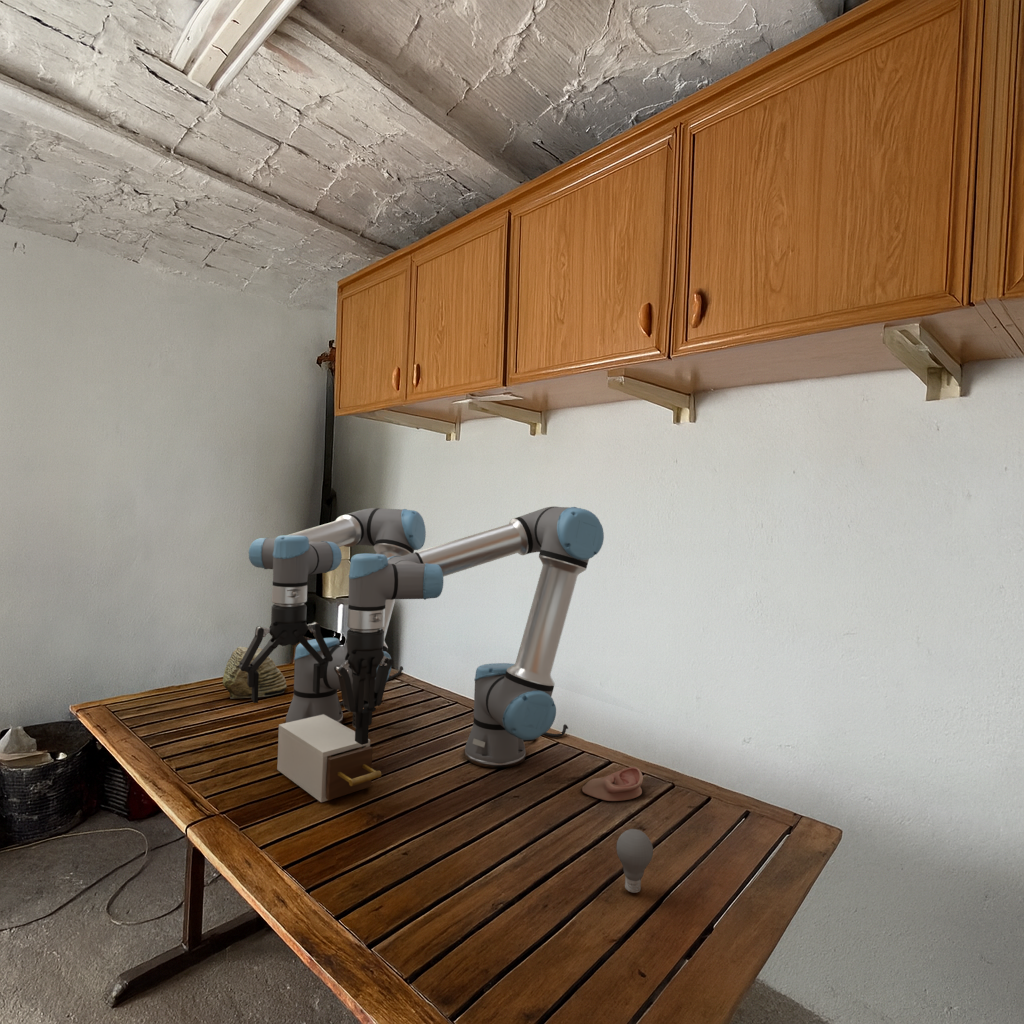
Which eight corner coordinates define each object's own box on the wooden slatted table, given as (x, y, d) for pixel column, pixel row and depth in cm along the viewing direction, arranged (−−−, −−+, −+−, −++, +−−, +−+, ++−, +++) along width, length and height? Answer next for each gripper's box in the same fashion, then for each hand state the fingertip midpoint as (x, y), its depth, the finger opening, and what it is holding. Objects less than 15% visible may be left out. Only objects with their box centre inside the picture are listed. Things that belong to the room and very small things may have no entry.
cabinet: (368, 786, 139) (370, 739, 139) (321, 802, 131) (323, 752, 131) (322, 757, 154) (323, 714, 154) (276, 769, 146) (278, 724, 146)
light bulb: (610, 879, 108) (613, 822, 108) (644, 879, 109) (647, 822, 109) (619, 902, 102) (622, 840, 102) (655, 901, 103) (658, 840, 103)
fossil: (218, 695, 195) (220, 647, 195) (278, 685, 208) (279, 640, 207) (228, 703, 189) (230, 653, 188) (289, 692, 201) (290, 645, 201)
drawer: (387, 796, 133) (388, 756, 133) (344, 811, 126) (345, 769, 126) (326, 757, 151) (328, 722, 151) (286, 769, 144) (287, 732, 144)
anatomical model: (581, 779, 138) (585, 758, 149) (580, 797, 138) (585, 775, 149) (643, 787, 135) (643, 766, 147) (642, 806, 136) (642, 783, 147)
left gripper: (233, 610, 133) (230, 710, 134) (348, 603, 147) (345, 693, 148) (226, 604, 139) (223, 699, 140) (337, 598, 154) (334, 684, 154)
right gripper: (347, 635, 123) (342, 755, 124) (402, 628, 133) (398, 740, 133) (328, 629, 129) (323, 744, 129) (382, 622, 138) (378, 729, 138)
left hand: (286, 696), depth 144 cm, fingers open, 13 cm apart
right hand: (361, 741), depth 131 cm, fingers closed
